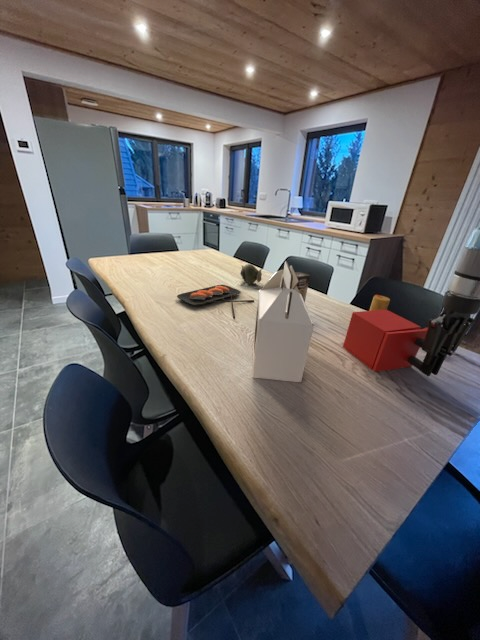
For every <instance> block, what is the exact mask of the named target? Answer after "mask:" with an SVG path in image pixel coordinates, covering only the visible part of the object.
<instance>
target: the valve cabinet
mask: <svg viewBox="0 0 480 640" xmlns="http://www.w3.org/2000/svg"><path fill="white" fill-rule="evenodd" d="M419 329H422V326H420V325H418V324H417V323H414V322H412V321H411V320H408V319H406V318H404V317H402V316H400V315H398V314H396V313H394V312H393V311H390V310H389V309H387V310H386V309H383V310H372V311H369V310H362V311H352V312H351V317H350V320H349V324H348V327H347V331H346V335H345V338H344V340H343V344H342V348H343V349H345V350H346V351H347V352H349V353H350V354H351V355H352V356H354V357H355V358H356V359H358V360H359V361H360V362H361V363H362V364H364V365H365V366H366V367H367V368H368V369H370V370H372V369H373V367H374V364H375V361H376V358H377V356H378V353H379V350H380V347H381V344H382V342H383V339H384V336H385V333H386V332H396V331H408V330H419Z"/></svg>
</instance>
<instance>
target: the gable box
mask: <svg viewBox="0 0 480 640" xmlns="http://www.w3.org/2000/svg"><path fill="white" fill-rule="evenodd" d="M298 283H299V280H298V278H297V276H296V274H295V270H294V267H293V265H292V264H291V265H289V263H288V261H287V260H285V261H284V265H283V268H281V269H278V270H276V272H275V273H274V274H273V275H272V276H271V278H269V279H268V281H267V282H266V283H265V284H264V285H263V286H262V287H261V289H259V290H258V296H257V297H258V298H257V306H256V315H255V325H254V332H253V333H254V334H253V348H252V349H253V350H252V371H251V372H252V373H251V376H252V378H253V379H254V378H255V379H266V380H273V381H283V382H293V383H301V382H302V381H303V376H304V371H305V367H306V362H307V358H308V353H309V349H310V345H311V339H312V336H313V330H314V327H315V324H314V322H313V320H312V317H311V315H310V312H309V310H308V307H307V304H306V301H305V302H304V300H303V298H302V295H301V294H300V292H299V290H298V287H297V284H298Z"/></svg>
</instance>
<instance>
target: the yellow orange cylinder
mask: <svg viewBox="0 0 480 640" xmlns="http://www.w3.org/2000/svg"><path fill="white" fill-rule="evenodd" d="M390 302H391V299H390V298H389V297H387V296H385V295H379V294H375V295H373V298H372V301H371V304H370V307H369V310H368V311H372V310H383V309H386V310H388V308H389V305H390Z"/></svg>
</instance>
